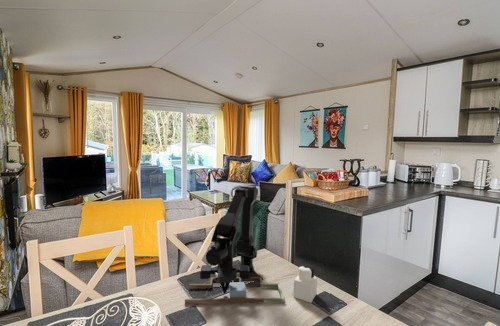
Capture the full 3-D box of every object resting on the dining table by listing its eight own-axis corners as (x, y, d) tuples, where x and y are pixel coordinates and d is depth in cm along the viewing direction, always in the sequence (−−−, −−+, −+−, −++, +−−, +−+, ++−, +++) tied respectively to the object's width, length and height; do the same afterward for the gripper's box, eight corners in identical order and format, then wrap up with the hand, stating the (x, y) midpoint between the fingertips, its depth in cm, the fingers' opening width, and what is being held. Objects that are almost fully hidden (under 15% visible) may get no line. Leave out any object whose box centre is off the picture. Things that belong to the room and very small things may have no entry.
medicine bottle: (299, 288, 107) (300, 260, 106) (316, 294, 103) (318, 265, 102) (293, 297, 101) (294, 267, 100) (311, 303, 97) (312, 273, 96)
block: (228, 292, 103) (229, 282, 103) (243, 291, 104) (244, 281, 104) (230, 301, 98) (230, 291, 97) (245, 300, 99) (246, 290, 98)
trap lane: (191, 281, 110) (191, 277, 110) (277, 280, 113) (277, 276, 113) (184, 304, 95) (184, 300, 95) (284, 302, 97) (284, 298, 97)
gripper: (198, 264, 91) (197, 306, 92) (251, 264, 92) (249, 305, 94) (202, 250, 102) (201, 288, 103) (249, 250, 103) (248, 287, 105)
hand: (224, 292), depth 101 cm, fingers closed
